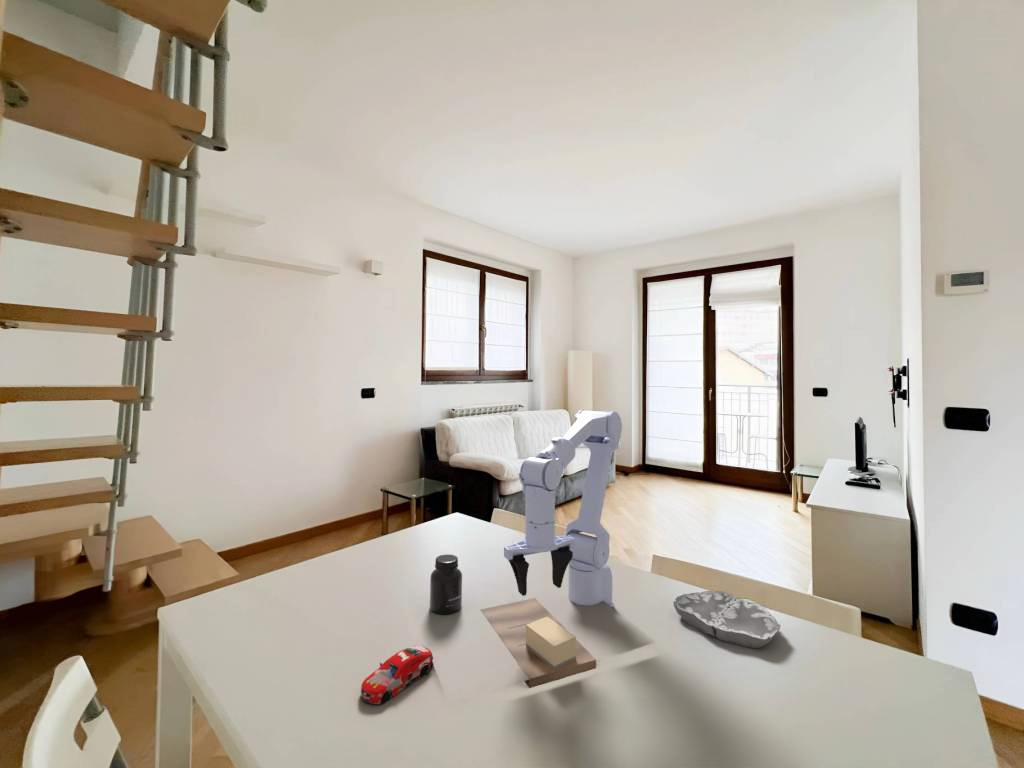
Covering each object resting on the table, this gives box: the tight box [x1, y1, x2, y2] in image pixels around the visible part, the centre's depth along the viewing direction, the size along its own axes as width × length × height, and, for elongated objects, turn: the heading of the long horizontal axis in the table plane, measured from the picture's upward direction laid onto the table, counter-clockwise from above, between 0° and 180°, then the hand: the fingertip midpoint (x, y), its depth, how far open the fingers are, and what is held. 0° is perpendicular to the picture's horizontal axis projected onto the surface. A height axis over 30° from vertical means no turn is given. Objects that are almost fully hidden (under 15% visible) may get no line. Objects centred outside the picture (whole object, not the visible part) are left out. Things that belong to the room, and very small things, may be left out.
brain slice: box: [673, 590, 781, 649], centre depth 92 cm, size 20×17×3 cm
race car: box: [360, 644, 434, 705], centre depth 74 cm, size 13×5×4 cm, turn 142°
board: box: [480, 597, 597, 689], centre depth 86 cm, size 24×13×2 cm, turn 24°
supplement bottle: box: [429, 554, 463, 616], centre depth 95 cm, size 7×7×12 cm
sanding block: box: [526, 617, 577, 670], centre depth 79 cm, size 5×8×4 cm, turn 35°
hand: (539, 589), depth 86 cm, fingers open, 7 cm apart
